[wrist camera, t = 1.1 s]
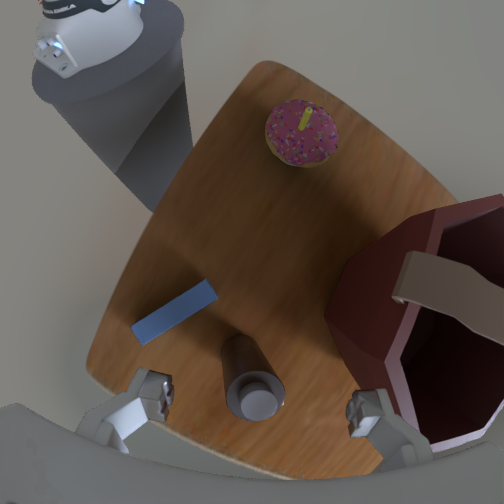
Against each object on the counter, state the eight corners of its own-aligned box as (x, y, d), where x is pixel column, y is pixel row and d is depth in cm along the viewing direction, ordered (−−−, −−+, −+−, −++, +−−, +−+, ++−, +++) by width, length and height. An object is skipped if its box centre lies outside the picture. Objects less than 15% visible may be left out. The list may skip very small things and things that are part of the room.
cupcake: (297, 193, 33) (334, 153, 21) (244, 148, 33) (256, 91, 21) (336, 150, 34) (378, 104, 22) (287, 109, 34) (312, 51, 22)
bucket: (460, 297, 35) (589, 302, 10) (386, 417, 32) (499, 500, 8) (360, 191, 34) (510, 100, 10) (257, 332, 32) (347, 470, 7)
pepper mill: (214, 360, 30) (216, 418, 17) (231, 328, 31) (245, 367, 17) (248, 376, 31) (271, 438, 17) (265, 344, 31) (301, 390, 18)
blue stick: (146, 340, 30) (141, 345, 27) (135, 323, 30) (129, 327, 27) (218, 296, 31) (218, 298, 29) (206, 278, 31) (206, 278, 29)
